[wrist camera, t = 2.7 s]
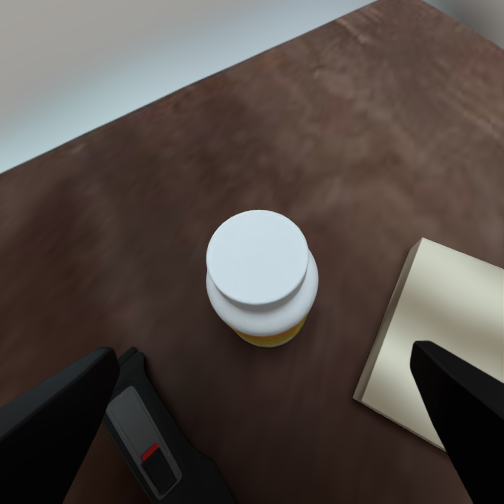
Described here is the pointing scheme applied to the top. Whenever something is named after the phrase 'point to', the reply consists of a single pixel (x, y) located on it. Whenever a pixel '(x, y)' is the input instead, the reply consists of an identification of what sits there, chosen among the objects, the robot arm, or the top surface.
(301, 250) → the supplement bottle
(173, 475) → the electric trimmer
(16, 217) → the top surface
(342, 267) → the top surface
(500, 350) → the notched board
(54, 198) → the top surface
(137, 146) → the top surface
